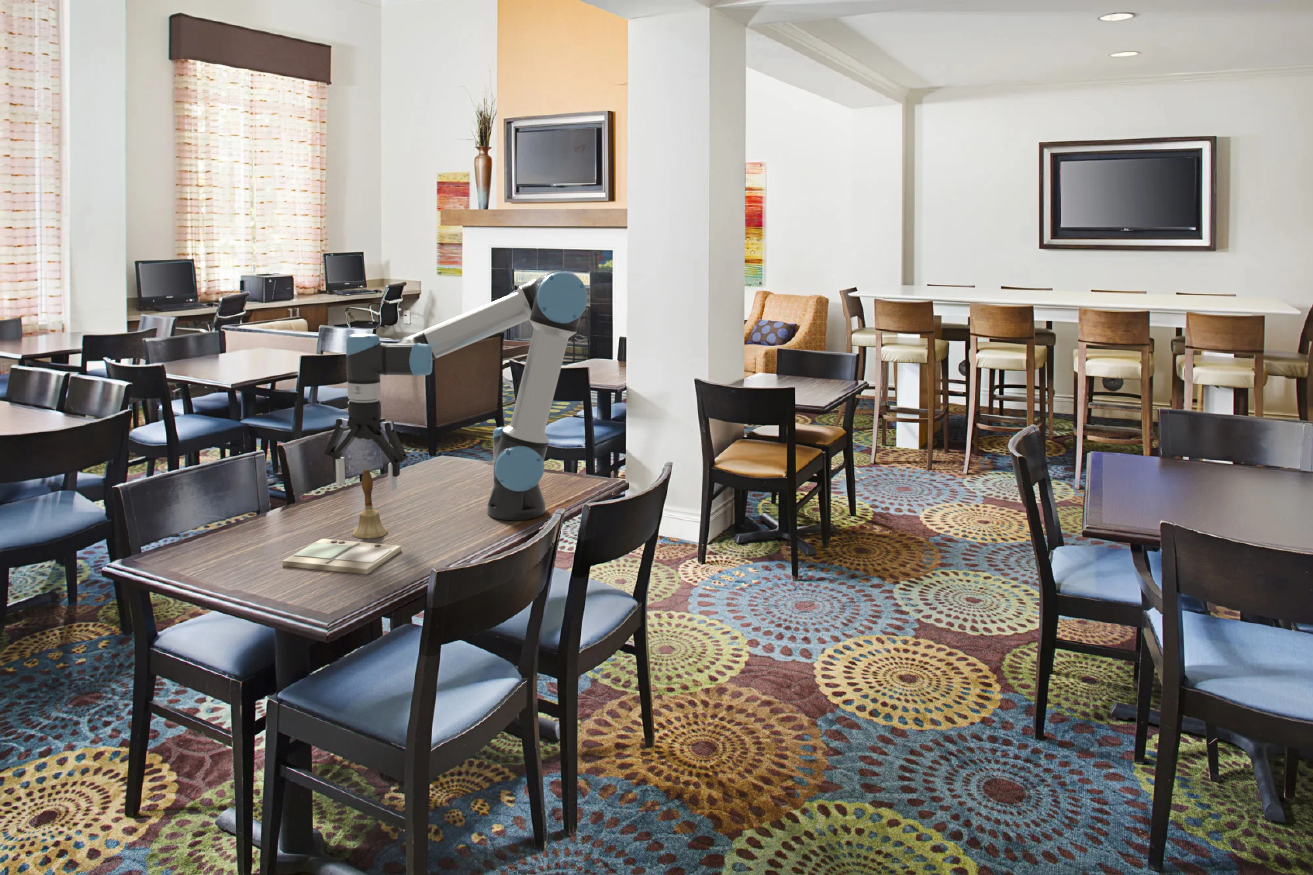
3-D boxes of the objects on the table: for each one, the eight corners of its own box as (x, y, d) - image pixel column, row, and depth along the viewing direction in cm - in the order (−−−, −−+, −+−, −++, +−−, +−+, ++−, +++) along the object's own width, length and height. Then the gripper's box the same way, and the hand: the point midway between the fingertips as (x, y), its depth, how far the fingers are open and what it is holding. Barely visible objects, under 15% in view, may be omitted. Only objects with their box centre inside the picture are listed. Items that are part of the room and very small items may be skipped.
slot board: (401, 550, 221) (400, 544, 221) (367, 574, 206) (366, 567, 205) (322, 543, 225) (321, 537, 225) (282, 565, 210) (282, 559, 209)
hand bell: (354, 540, 228) (351, 475, 224) (350, 530, 235) (347, 467, 232) (390, 536, 231) (387, 472, 228) (385, 526, 238) (382, 464, 235)
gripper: (307, 398, 225) (310, 486, 229) (406, 406, 220) (407, 495, 225) (324, 393, 232) (327, 478, 237) (420, 400, 227) (421, 487, 232)
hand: (366, 487), depth 231 cm, fingers open, 13 cm apart
